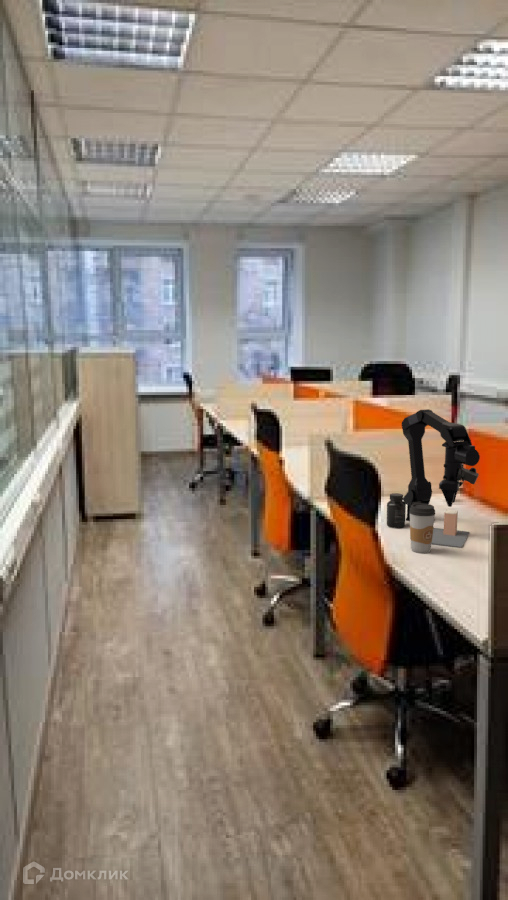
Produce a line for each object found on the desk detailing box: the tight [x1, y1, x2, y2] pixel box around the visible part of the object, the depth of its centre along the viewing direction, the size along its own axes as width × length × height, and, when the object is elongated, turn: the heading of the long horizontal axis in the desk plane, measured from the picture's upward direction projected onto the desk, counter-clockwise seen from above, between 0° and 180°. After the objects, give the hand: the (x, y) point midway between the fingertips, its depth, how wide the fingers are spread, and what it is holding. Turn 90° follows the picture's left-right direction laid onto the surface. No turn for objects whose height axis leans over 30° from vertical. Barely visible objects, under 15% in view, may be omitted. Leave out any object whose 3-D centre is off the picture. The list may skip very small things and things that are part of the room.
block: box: [443, 509, 459, 536], centre depth 239 cm, size 4×4×8 cm
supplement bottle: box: [386, 492, 407, 529], centre depth 249 cm, size 7×7×12 cm
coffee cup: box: [409, 503, 436, 554], centre depth 221 cm, size 8×8×15 cm
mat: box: [431, 527, 470, 549], centre depth 236 cm, size 13×19×1 cm
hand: (451, 504), depth 238 cm, fingers open, 6 cm apart
